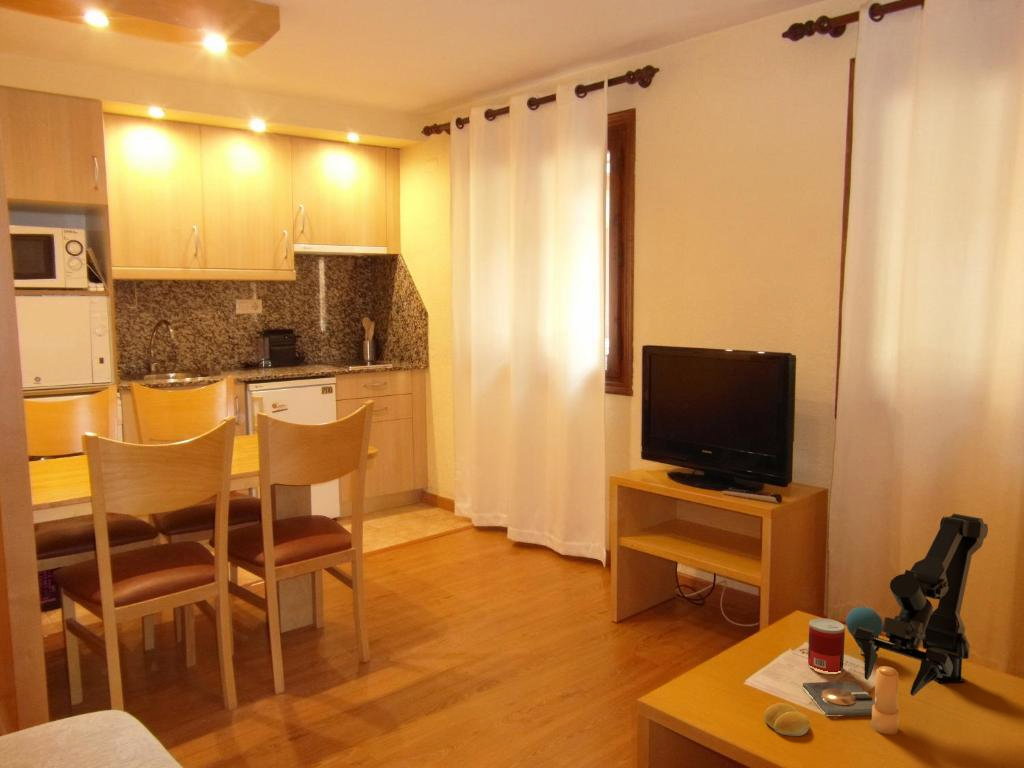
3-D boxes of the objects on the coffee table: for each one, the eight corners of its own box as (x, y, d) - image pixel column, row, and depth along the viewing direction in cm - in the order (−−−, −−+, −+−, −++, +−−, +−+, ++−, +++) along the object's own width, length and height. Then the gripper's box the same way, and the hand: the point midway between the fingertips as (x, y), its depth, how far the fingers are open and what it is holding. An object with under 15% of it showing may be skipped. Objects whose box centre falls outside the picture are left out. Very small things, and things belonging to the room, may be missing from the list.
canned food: (848, 675, 183) (850, 631, 182) (814, 675, 183) (816, 630, 182) (835, 661, 190) (837, 618, 189) (803, 660, 191) (804, 617, 189)
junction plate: (853, 687, 177) (854, 679, 177) (881, 714, 165) (881, 706, 165) (802, 689, 176) (802, 681, 176) (826, 716, 164) (826, 708, 164)
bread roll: (786, 741, 155) (786, 722, 155) (757, 719, 164) (758, 701, 163) (819, 733, 158) (819, 715, 158) (789, 712, 166) (789, 694, 166)
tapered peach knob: (889, 721, 162) (892, 663, 161) (903, 734, 157) (906, 675, 156) (866, 721, 162) (869, 664, 161) (879, 734, 157) (882, 675, 156)
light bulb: (837, 650, 196) (839, 604, 195) (861, 644, 200) (863, 599, 199) (864, 663, 189) (866, 616, 188) (889, 657, 192) (891, 611, 191)
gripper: (858, 590, 169) (832, 653, 162) (951, 615, 155) (927, 685, 148) (872, 615, 175) (848, 677, 168) (962, 642, 161) (940, 710, 154)
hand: (888, 686), depth 160 cm, fingers open, 9 cm apart
